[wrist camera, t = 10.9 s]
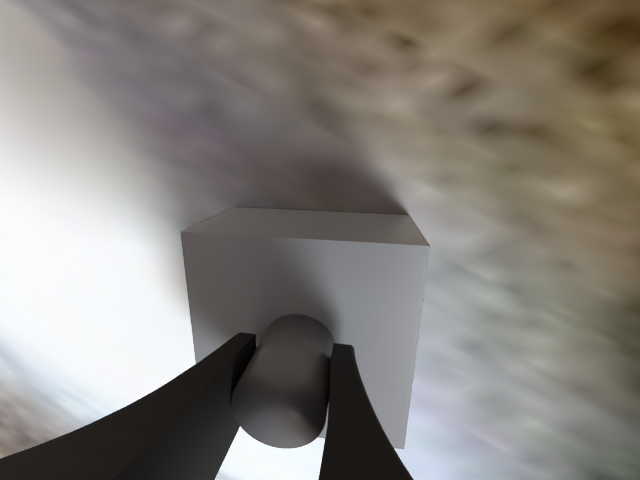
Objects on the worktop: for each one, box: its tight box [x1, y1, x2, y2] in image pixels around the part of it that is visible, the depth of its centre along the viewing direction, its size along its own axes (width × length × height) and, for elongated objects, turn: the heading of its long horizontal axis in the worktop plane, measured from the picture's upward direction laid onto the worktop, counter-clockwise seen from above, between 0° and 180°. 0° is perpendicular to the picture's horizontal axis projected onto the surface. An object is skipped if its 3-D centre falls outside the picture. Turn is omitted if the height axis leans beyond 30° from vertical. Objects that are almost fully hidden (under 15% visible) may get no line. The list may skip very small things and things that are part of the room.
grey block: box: [181, 207, 430, 449], centre depth 13 cm, size 9×9×8 cm
